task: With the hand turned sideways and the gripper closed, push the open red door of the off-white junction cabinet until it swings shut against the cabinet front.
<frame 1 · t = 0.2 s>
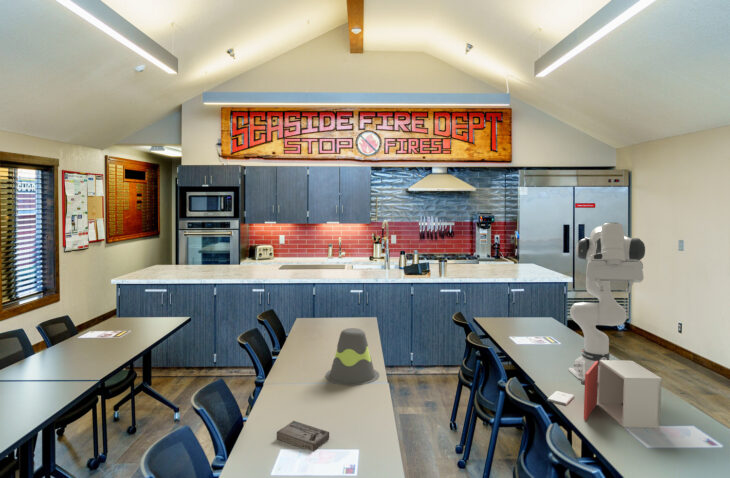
hand: (614, 291, 185), 54 cm above the table, tool tilted 30°, fingers open, 8 cm apart
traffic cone: (352, 376, 244), on the table
door: (589, 388, 201), point 10 cm above the table, hinge at 35.0°
external hard drive: (560, 400, 215), on the table
cabinet: (627, 415, 198), on the table
box: (302, 441, 176), on the table
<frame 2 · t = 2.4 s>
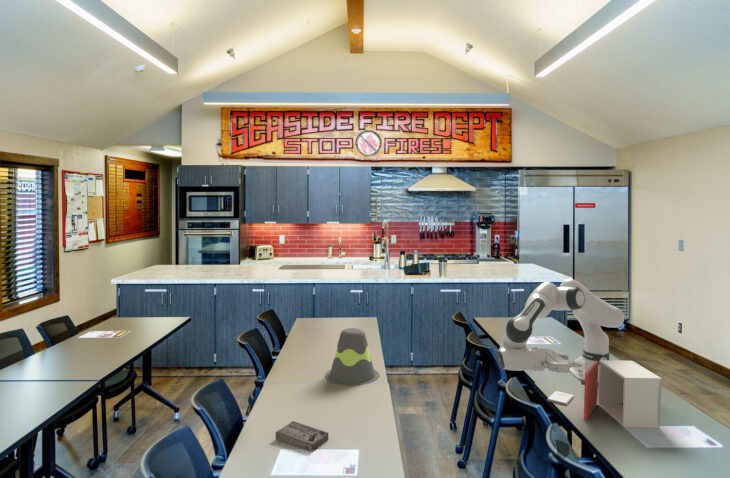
hand: (572, 360, 193), 24 cm above the table, tool horizontal, fingers open, 7 cm apart
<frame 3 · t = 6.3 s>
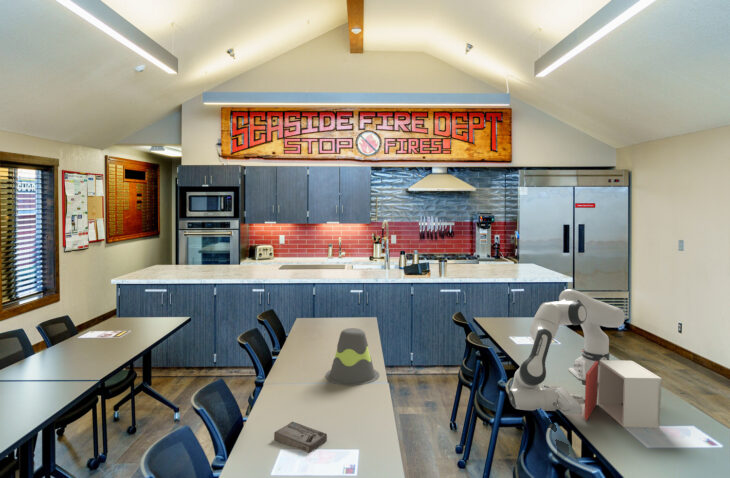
hand: (583, 400, 194), 8 cm above the table, tool horizontal, fingers closed
door: (589, 388, 200), point 10 cm above the table, hinge at 34.1°, touching gripper
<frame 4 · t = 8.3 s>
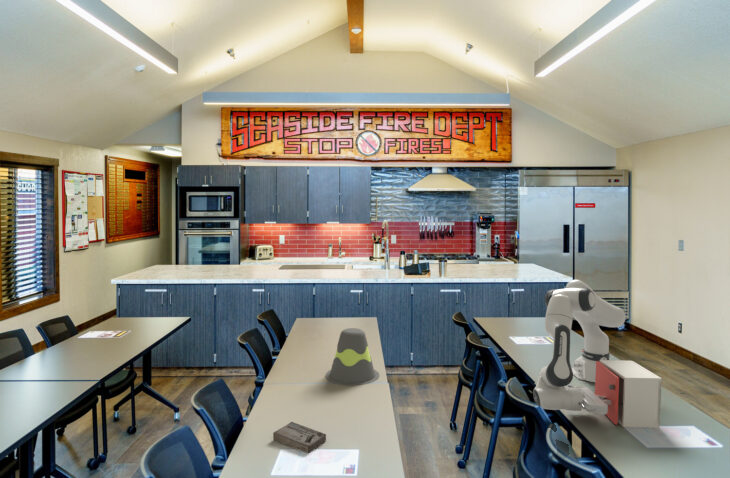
hand: (609, 400, 193), 8 cm above the table, tool horizontal, fingers closed, pressing on door
door: (604, 391, 198), point 10 cm above the table, hinge at 3.7°, touching gripper
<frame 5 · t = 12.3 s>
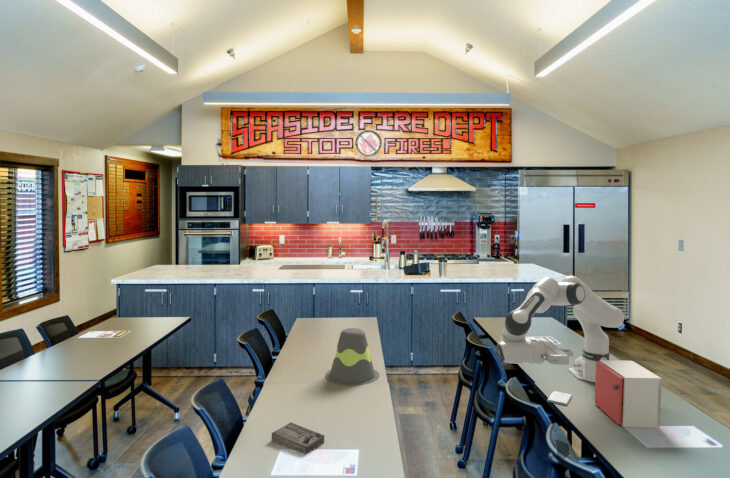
hand: (571, 352, 194), 27 cm above the table, tool horizontal, fingers closed
door: (606, 391, 198), point 10 cm above the table, hinge at 0.0°
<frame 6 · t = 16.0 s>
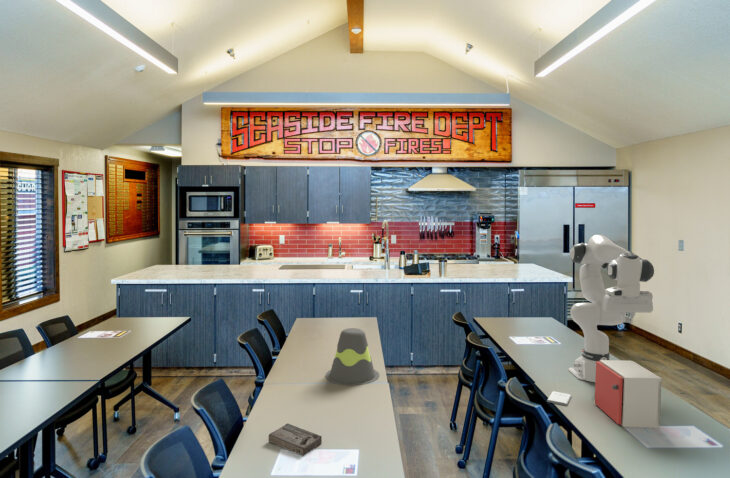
hand: (627, 322, 206), 37 cm above the table, tool pointing down, fingers closed
box: (295, 444, 173), on the table
everything else where it was.
at the end: door at +0° (first picture: +35°); external hard drive moved 1.2 cm from its start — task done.
